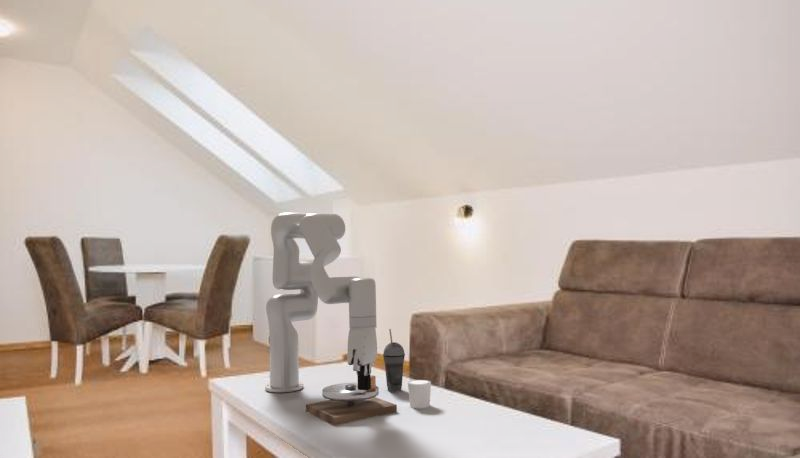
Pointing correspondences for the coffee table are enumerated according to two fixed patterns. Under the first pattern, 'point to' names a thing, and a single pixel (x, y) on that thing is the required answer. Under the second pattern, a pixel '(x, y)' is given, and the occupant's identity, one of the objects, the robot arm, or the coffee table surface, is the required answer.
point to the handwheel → (350, 391)
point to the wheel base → (350, 410)
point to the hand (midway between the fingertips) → (364, 389)
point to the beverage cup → (394, 365)
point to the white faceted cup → (419, 393)
